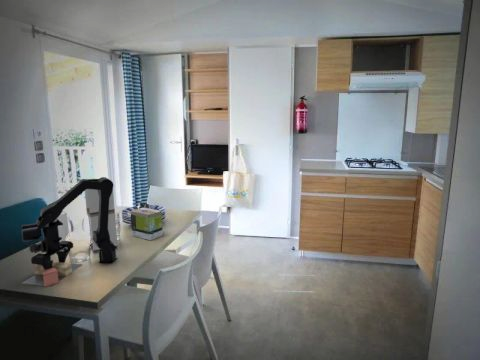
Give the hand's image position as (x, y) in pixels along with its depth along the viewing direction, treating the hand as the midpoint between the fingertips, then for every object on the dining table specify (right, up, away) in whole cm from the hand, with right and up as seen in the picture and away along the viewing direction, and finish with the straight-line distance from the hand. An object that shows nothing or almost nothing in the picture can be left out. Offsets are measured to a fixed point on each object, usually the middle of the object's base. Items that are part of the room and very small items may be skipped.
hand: (55, 270), depth 147 cm
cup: (-18, +6, +39) cm, 43 cm away
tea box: (+27, +7, +46) cm, 54 cm away
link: (-1, -1, 0) cm, 1 cm away
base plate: (-1, -2, 0) cm, 2 cm away
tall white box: (+10, +4, +28) cm, 30 cm away
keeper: (+2, -3, -8) cm, 9 cm away
